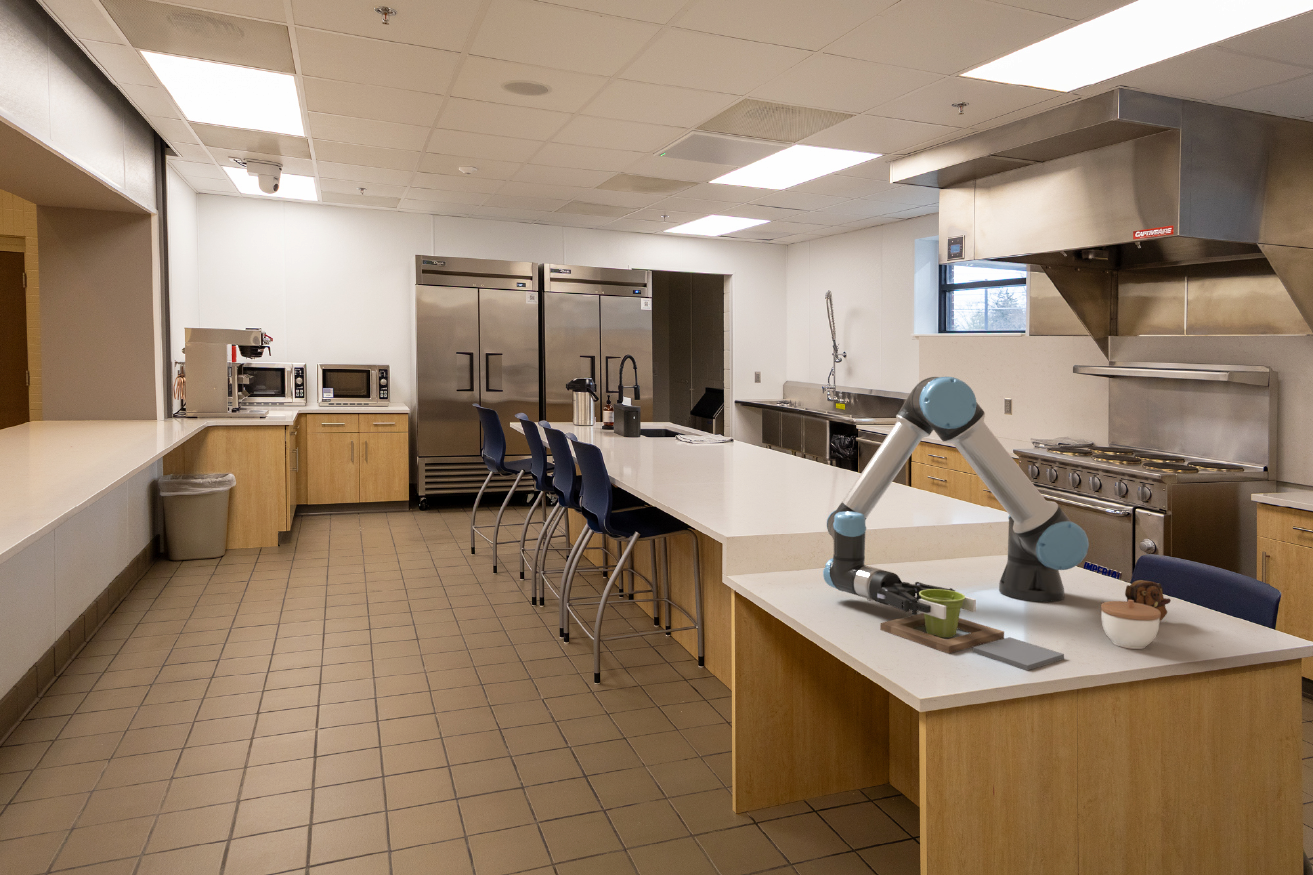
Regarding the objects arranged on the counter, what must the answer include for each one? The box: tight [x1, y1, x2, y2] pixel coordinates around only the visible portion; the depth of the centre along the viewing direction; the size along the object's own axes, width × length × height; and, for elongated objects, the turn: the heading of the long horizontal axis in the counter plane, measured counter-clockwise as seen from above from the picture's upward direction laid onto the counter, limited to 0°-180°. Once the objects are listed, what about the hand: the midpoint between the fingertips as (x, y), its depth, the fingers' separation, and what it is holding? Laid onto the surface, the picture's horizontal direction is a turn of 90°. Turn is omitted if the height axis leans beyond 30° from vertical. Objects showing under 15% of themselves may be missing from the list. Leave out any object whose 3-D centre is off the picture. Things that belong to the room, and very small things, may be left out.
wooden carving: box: [1124, 579, 1171, 623], centre depth 182 cm, size 16×5×10 cm, turn 122°
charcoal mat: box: [972, 636, 1065, 671], centre depth 163 cm, size 12×12×1 cm
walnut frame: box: [879, 613, 1005, 655], centre depth 176 cm, size 18×18×2 cm
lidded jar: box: [1100, 600, 1161, 650], centre depth 169 cm, size 11×11×9 cm
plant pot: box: [919, 589, 966, 639], centre depth 176 cm, size 9×9×9 cm
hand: (959, 609), depth 172 cm, fingers closed on plant pot, 9 cm apart
